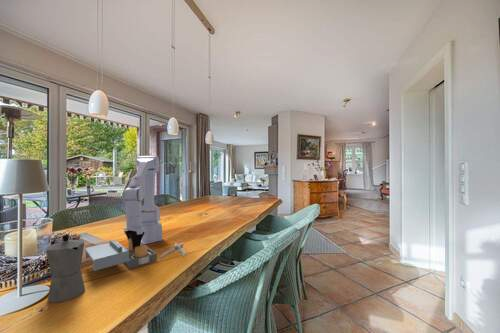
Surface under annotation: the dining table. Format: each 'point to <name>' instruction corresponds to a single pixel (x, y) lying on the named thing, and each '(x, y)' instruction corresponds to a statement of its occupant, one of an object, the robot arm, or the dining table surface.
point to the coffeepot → (65, 269)
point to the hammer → (174, 249)
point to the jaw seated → (140, 251)
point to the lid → (107, 255)
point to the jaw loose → (130, 246)
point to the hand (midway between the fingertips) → (134, 247)
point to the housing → (141, 259)
